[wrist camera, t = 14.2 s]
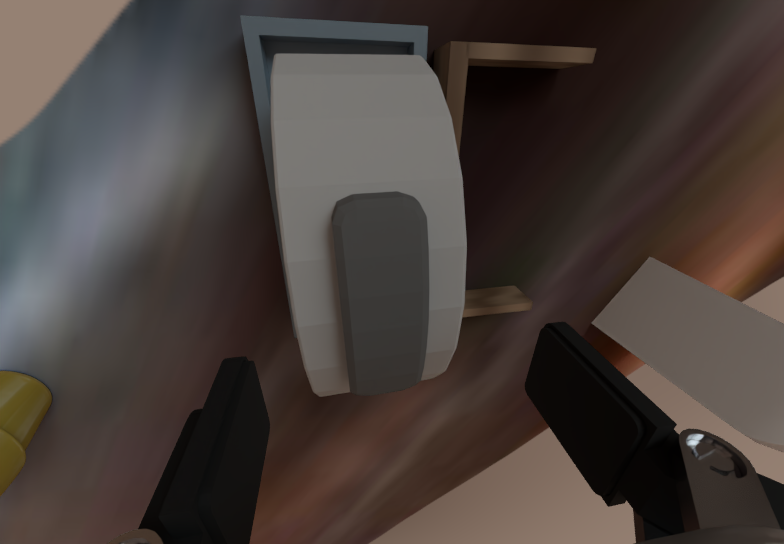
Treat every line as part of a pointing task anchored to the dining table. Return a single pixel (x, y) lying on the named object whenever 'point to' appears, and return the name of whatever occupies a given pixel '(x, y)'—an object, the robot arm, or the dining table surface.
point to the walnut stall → (452, 80)
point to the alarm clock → (368, 218)
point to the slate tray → (313, 38)
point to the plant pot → (18, 420)
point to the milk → (704, 347)
